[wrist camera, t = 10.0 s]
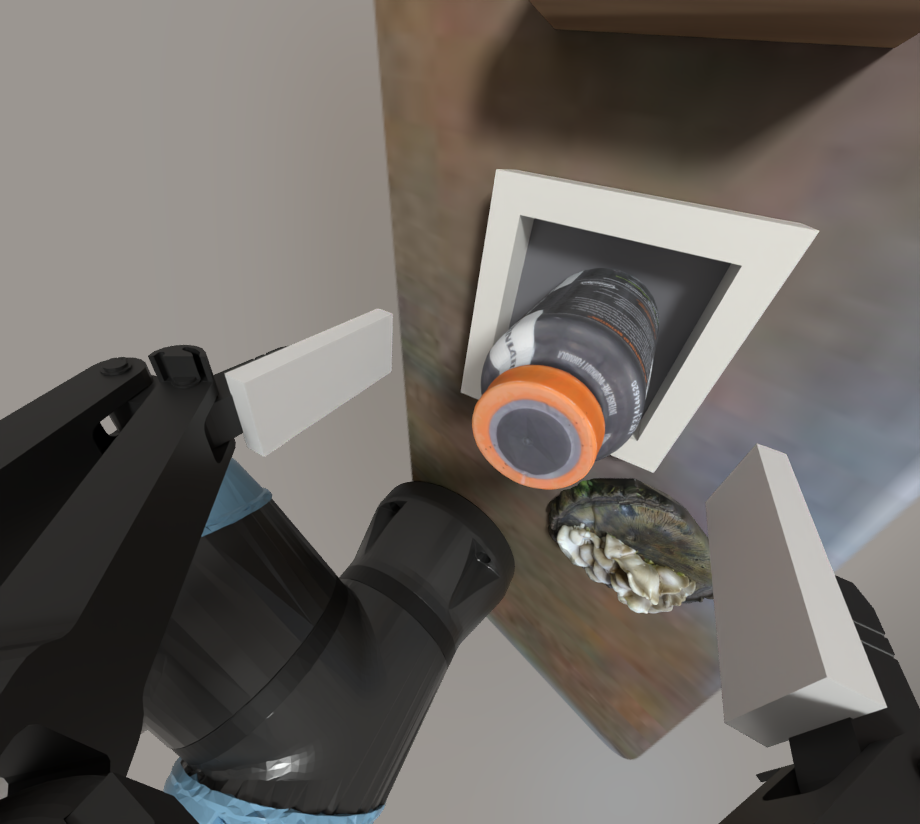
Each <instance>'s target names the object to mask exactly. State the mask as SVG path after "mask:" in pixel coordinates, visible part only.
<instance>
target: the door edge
mask: <svg viewBox="0 0 920 824" xmlns="http://www.w3.org/2000/svg"><path fill="white" fill-rule="evenodd" d="M529 1H530V2H531V3H532V5H533V6H534V7H535V8H536V9H537V10H538V11H539V12H540V13H541V14H542V16H543V17H544V18H545V19H546V20H547V21H548V22H549V23H550V24H551V25H552V27H553V28H554V29H560V30H578V31H596V32H614V33H632V34H650V35H669V36H687V37H705V38H723V39H741V40H759V41H778V42H796V43H814V44H832V45H850V46H868V47H887V48H895V47H897V46H899V45H900V44H902V43H903V42H905V41H907V40H908V39H910V38H912V37H913V36H915V35H917V34H918V33H920V0H529Z"/></svg>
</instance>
